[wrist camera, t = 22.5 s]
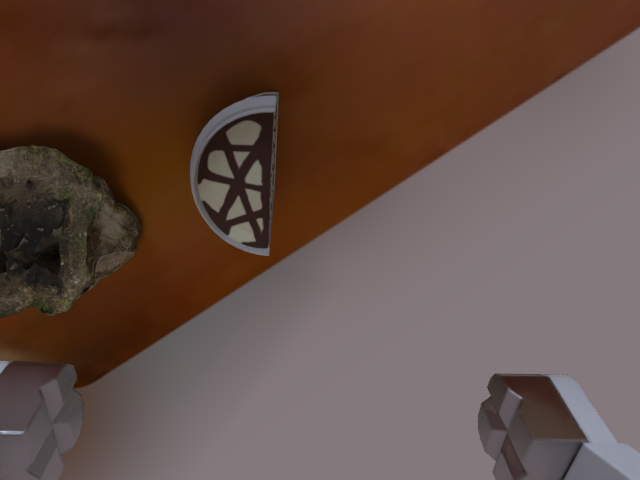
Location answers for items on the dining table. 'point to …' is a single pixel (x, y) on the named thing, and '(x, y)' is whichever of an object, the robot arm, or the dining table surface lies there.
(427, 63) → the dining table surface
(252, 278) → the dining table surface
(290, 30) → the dining table surface
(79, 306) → the dining table surface
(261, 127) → the food container
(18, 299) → the hollow geode rock
